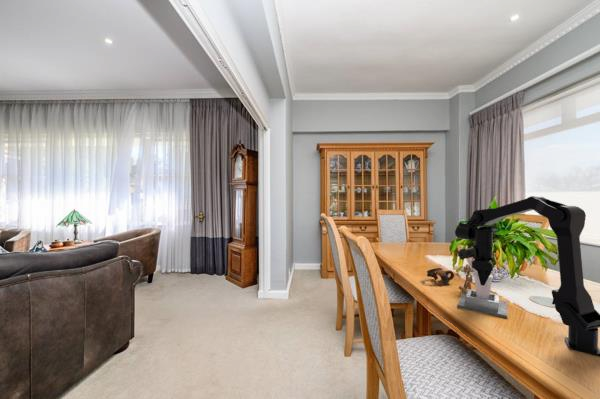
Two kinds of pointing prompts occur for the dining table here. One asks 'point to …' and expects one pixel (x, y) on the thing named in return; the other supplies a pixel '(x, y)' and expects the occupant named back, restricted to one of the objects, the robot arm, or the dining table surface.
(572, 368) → the dining table surface
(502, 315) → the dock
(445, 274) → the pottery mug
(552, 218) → the robot arm
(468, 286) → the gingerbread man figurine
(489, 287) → the smoothie
